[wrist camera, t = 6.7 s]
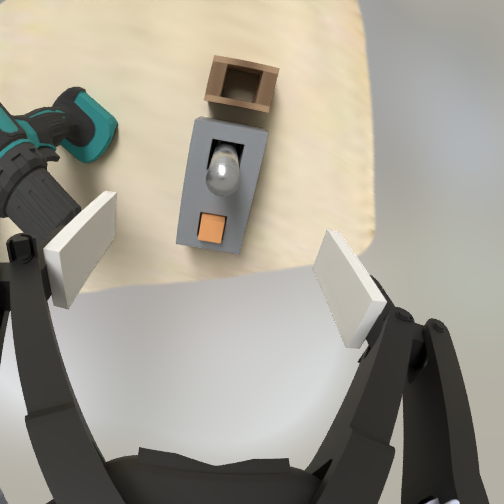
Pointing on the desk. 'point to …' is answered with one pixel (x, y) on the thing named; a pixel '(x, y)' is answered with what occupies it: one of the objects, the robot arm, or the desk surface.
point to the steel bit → (223, 169)
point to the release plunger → (211, 227)
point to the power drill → (48, 158)
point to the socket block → (204, 200)
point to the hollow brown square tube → (224, 63)
